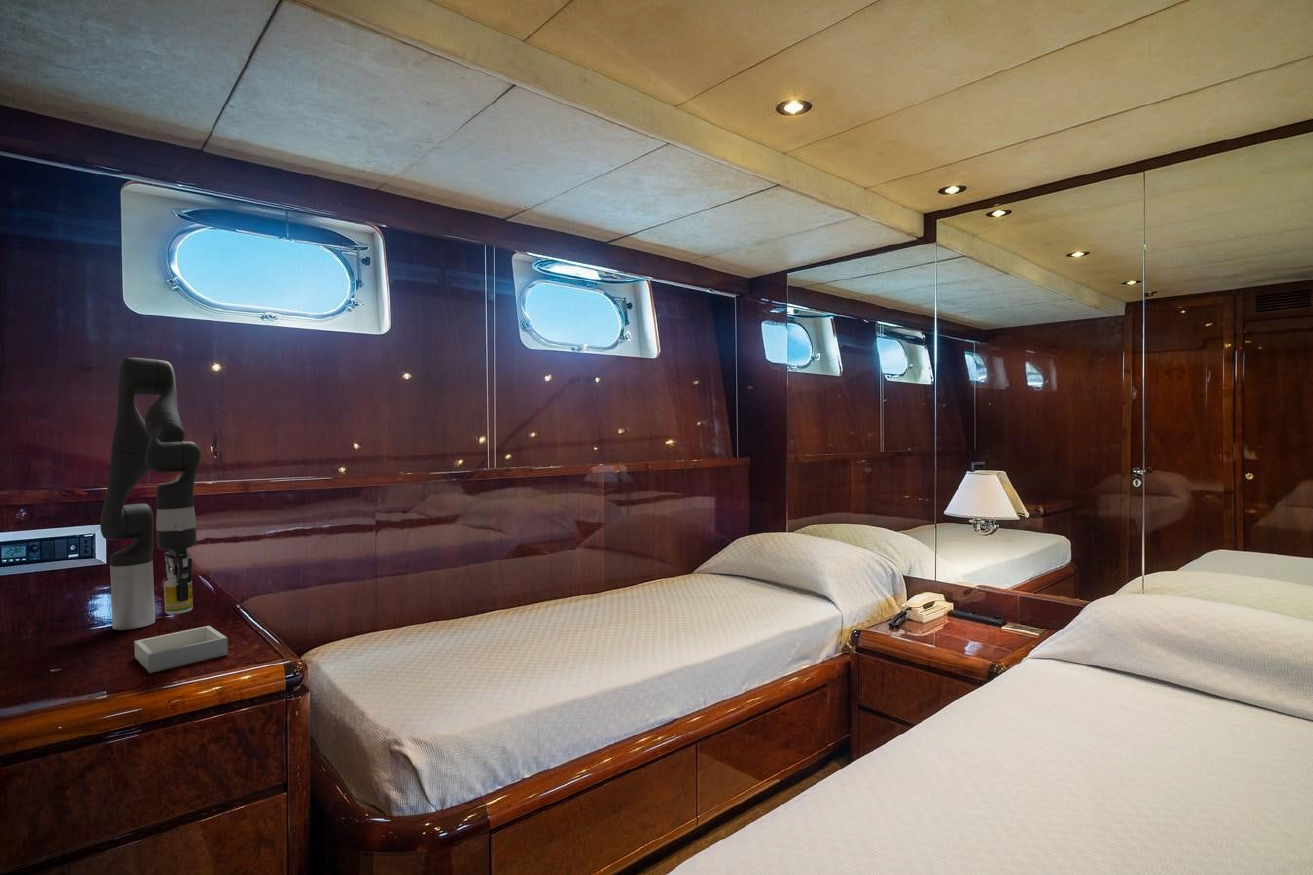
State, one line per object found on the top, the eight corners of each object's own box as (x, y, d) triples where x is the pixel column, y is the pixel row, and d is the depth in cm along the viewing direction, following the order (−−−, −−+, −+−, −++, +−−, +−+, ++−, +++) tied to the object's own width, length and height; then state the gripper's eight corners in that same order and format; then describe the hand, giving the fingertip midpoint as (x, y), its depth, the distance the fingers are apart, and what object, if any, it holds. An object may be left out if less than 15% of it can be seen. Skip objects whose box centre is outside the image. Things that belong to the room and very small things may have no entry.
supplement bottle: (162, 611, 157) (160, 571, 157) (189, 606, 161) (188, 567, 160) (168, 615, 153) (166, 574, 153) (195, 610, 157) (194, 570, 157)
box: (135, 657, 157) (134, 641, 157) (209, 641, 168) (209, 625, 168) (149, 673, 147) (148, 654, 146) (228, 654, 158) (227, 637, 158)
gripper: (149, 526, 159) (152, 597, 159) (164, 532, 149) (167, 607, 149) (187, 522, 164) (190, 590, 165) (204, 527, 154) (206, 600, 155)
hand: (179, 598), depth 157 cm, fingers closed on supplement bottle, 5 cm apart
